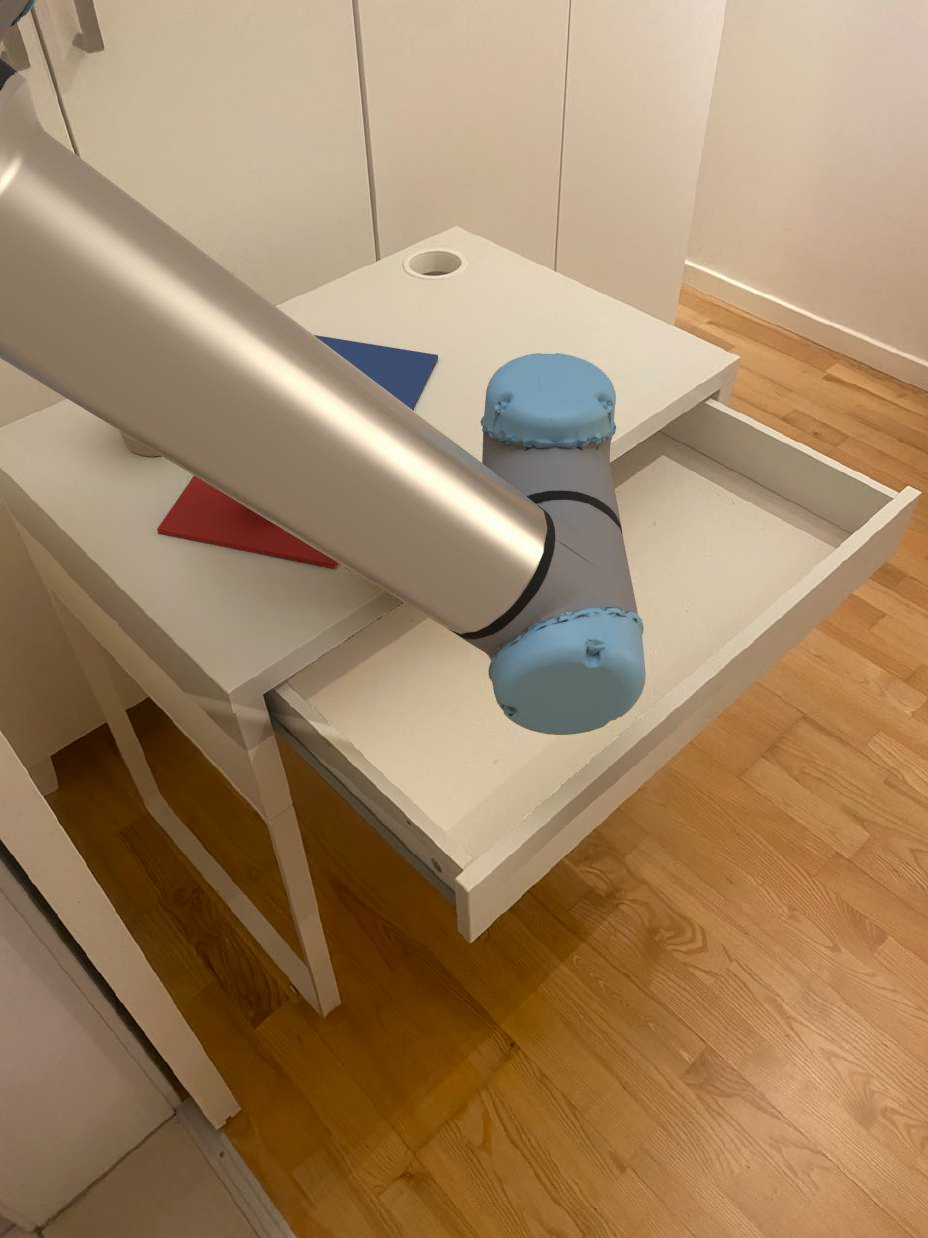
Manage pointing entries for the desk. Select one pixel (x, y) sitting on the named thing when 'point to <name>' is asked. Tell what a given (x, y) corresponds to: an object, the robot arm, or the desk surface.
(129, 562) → the desk surface
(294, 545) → the red mat
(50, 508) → the desk surface
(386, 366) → the blue mat
